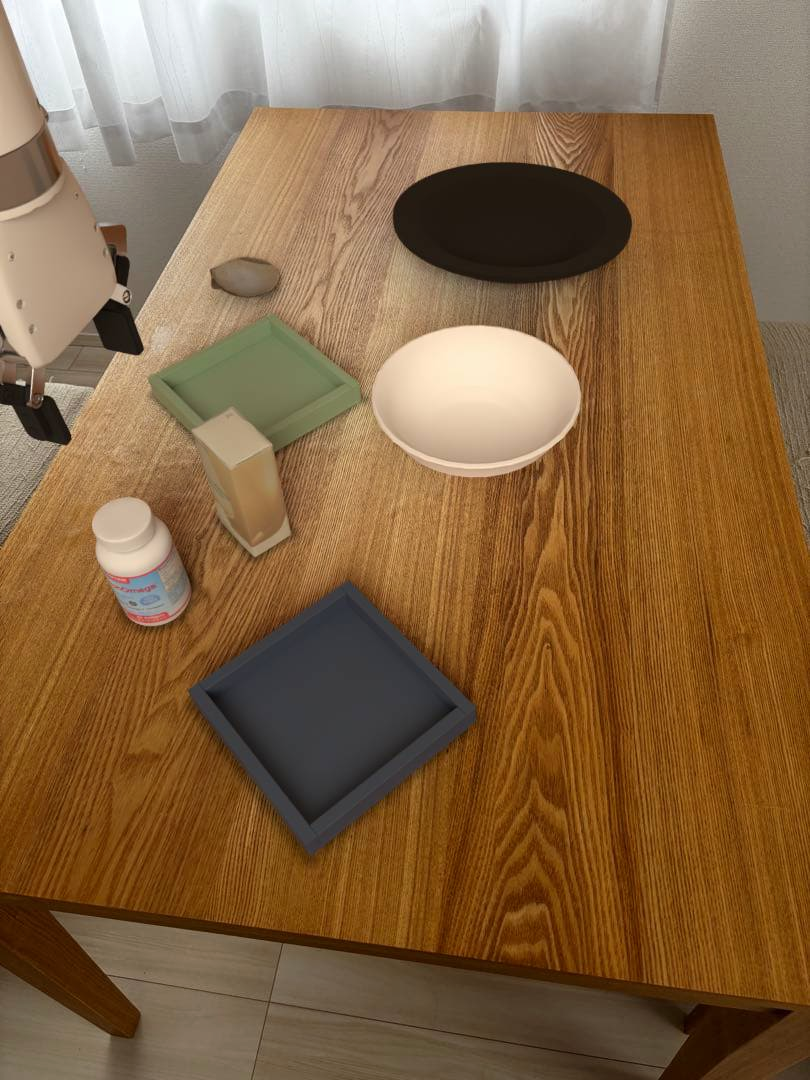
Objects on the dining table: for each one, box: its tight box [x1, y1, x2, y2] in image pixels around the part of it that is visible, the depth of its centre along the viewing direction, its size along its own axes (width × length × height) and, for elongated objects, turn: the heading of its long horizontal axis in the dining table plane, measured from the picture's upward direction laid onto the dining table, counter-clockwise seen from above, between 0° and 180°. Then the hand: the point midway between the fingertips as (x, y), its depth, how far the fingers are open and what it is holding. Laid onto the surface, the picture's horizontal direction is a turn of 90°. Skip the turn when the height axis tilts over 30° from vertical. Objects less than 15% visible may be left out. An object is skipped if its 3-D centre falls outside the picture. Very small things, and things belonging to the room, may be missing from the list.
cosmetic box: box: [191, 407, 292, 558], centre depth 76 cm, size 6×4×12 cm
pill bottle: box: [91, 496, 192, 627], centre depth 72 cm, size 6×6×11 cm
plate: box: [392, 161, 633, 285], centre depth 104 cm, size 28×24×6 cm
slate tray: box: [187, 579, 477, 857], centre depth 68 cm, size 16×16×2 cm
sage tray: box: [147, 312, 363, 453], centre depth 91 cm, size 16×16×2 cm
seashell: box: [209, 256, 281, 298], centre depth 103 cm, size 8×3×8 cm
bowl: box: [370, 324, 582, 478], centre depth 84 cm, size 20×20×6 cm
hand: (89, 392), depth 62 cm, fingers open, 9 cm apart
